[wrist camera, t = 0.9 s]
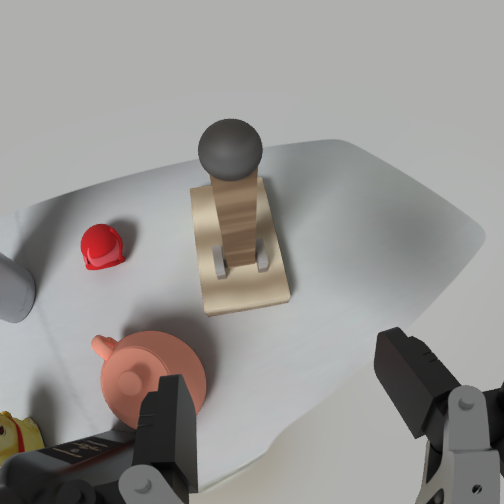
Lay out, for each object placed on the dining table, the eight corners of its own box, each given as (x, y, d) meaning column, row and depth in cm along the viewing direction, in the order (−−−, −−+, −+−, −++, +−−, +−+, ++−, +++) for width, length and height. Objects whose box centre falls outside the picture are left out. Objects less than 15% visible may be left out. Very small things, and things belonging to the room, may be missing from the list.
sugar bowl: (170, 448, 31) (143, 469, 21) (90, 375, 34) (46, 370, 25) (229, 375, 35) (221, 375, 25) (143, 306, 38) (111, 283, 29)
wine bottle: (108, 427, 31) (-94, 455, 4) (148, 435, 31) (-44, 505, 4) (110, 466, 29) (-70, 533, 2) (150, 474, 29) (-11, 585, 2)
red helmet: (127, 268, 36) (120, 220, 36) (82, 275, 34) (75, 227, 33) (124, 261, 44) (119, 221, 43) (87, 266, 41) (81, 226, 40)
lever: (260, 269, 34) (270, 147, 16) (224, 276, 34) (196, 158, 16) (254, 237, 36) (256, 102, 18) (219, 243, 35) (191, 111, 17)
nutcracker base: (287, 302, 38) (294, 288, 32) (208, 316, 37) (200, 305, 32) (260, 186, 45) (261, 159, 39) (193, 196, 44) (185, 171, 38)
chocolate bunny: (40, 408, 31) (-34, 408, 18) (61, 479, 27) (-5, 502, 14) (11, 411, 31) (-59, 408, 17) (30, 477, 27) (-34, 493, 13)
